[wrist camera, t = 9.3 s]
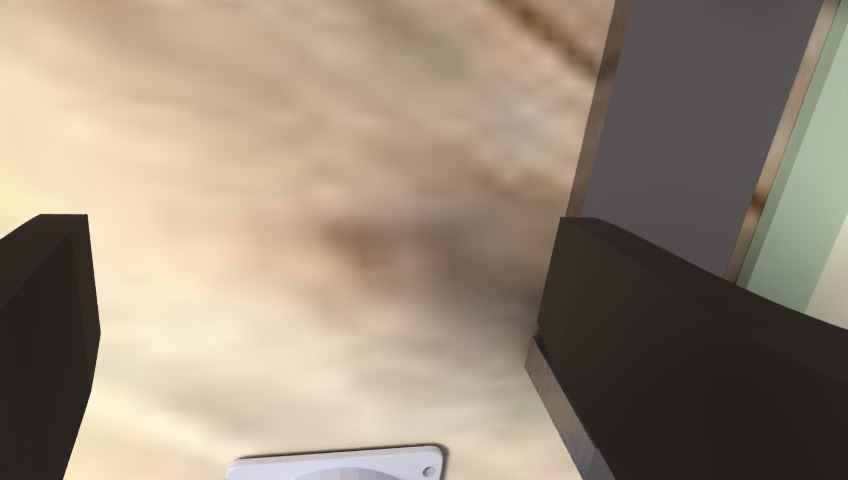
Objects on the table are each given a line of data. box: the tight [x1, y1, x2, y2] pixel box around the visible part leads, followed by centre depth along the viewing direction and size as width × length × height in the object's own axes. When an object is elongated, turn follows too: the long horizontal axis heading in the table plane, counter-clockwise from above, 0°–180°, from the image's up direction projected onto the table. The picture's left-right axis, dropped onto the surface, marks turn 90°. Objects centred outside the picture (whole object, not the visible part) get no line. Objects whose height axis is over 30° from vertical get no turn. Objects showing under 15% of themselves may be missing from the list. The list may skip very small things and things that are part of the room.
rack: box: [525, 0, 823, 480], centre depth 22 cm, size 18×7×6 cm, turn 173°
